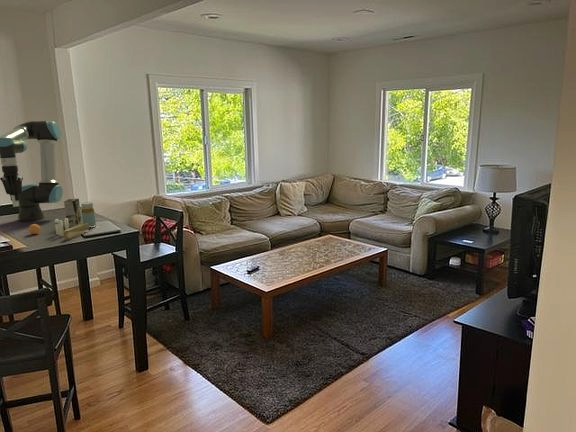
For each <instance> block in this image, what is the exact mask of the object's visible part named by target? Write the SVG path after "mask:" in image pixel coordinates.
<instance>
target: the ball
mask: <svg viewBox="0 0 576 432" xmlns="http://www.w3.org/2000/svg"><path fill="white" fill-rule="evenodd" d="M28 232H29V233H30V234H31V235H37V234H39V233H40V232H41V226H40V225H39V224H36V223H33V224H30V225H29V226H28Z"/></svg>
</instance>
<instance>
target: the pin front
mask: <svg viewBox="0 0 576 432" xmlns="http://www.w3.org/2000/svg"><path fill="white" fill-rule="evenodd" d="M58 221H59V218H56V219H54V226H55V234H56V236H60V230H59V223H58Z"/></svg>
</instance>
